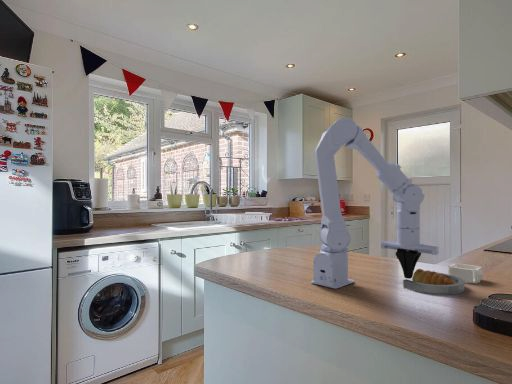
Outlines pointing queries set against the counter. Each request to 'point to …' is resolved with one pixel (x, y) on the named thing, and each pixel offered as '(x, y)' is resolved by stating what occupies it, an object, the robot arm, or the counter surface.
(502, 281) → the counter surface
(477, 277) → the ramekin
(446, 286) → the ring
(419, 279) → the pastry
